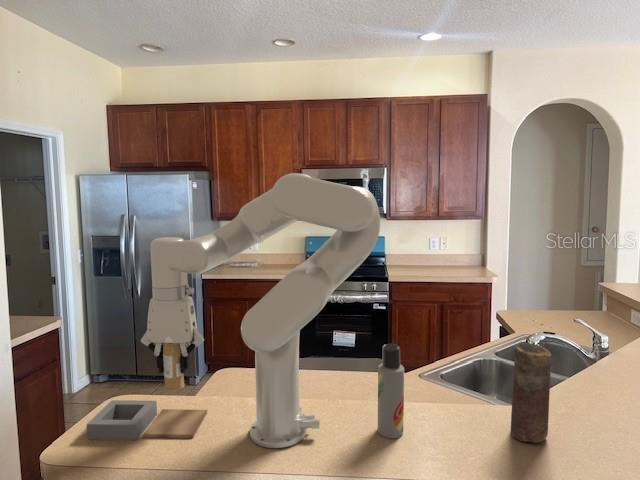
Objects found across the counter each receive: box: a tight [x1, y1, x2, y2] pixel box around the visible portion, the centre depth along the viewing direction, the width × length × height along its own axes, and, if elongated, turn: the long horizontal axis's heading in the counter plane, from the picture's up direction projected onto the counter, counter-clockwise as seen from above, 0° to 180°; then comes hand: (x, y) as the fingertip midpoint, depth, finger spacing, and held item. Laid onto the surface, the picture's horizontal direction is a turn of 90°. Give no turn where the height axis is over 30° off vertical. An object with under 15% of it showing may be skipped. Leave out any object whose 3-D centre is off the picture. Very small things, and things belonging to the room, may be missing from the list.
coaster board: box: [142, 408, 208, 439], centre depth 104 cm, size 11×11×1 cm
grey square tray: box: [86, 399, 158, 441], centre depth 103 cm, size 11×11×4 cm
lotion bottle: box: [377, 343, 405, 439], centre depth 99 cm, size 6×6×20 cm
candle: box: [510, 342, 552, 443], centre depth 97 cm, size 8×7×20 cm
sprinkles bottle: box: [163, 337, 186, 393], centre depth 102 cm, size 5×5×14 cm
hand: (173, 370), depth 102 cm, fingers closed on sprinkles bottle, 4 cm apart
